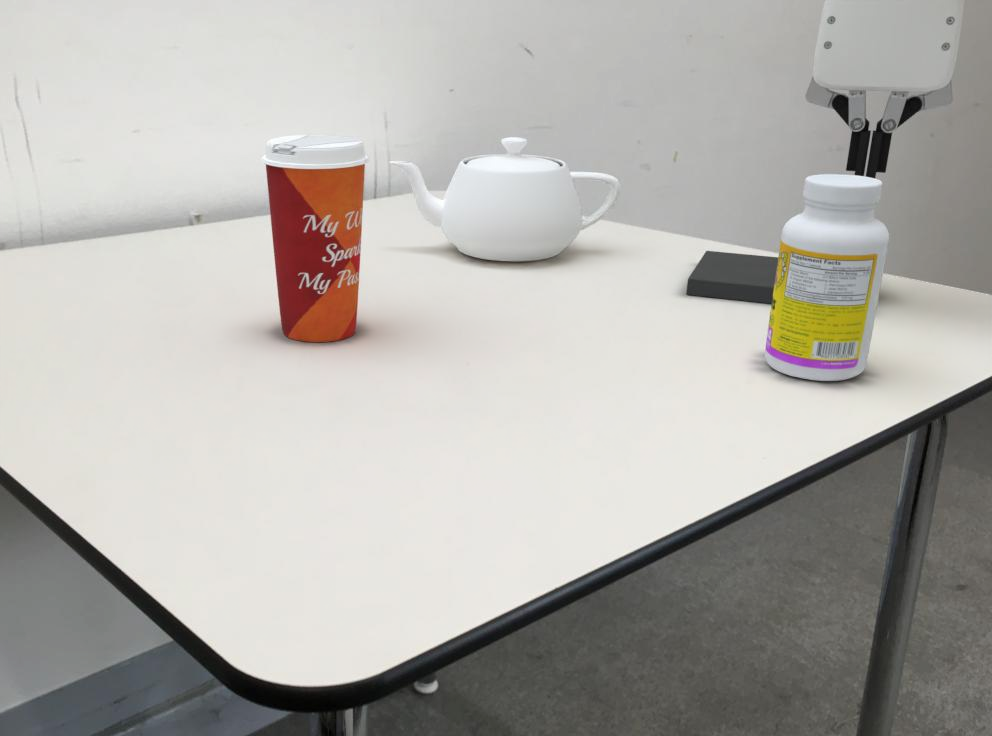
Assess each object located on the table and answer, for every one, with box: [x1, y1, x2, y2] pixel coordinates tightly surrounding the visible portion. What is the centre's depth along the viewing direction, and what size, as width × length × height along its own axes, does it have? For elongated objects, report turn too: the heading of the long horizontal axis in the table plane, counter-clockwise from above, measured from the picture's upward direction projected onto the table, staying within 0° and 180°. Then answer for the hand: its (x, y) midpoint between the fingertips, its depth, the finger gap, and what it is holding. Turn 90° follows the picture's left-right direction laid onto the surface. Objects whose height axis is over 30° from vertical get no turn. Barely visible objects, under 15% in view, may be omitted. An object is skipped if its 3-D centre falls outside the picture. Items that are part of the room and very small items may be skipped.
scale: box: [685, 250, 778, 305], centre depth 94 cm, size 15×11×3 cm
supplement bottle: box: [764, 173, 890, 382], centre depth 73 cm, size 7×7×13 cm
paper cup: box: [260, 134, 370, 343], centre depth 80 cm, size 8×8×14 cm
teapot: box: [388, 136, 621, 262], centre depth 104 cm, size 22×14×11 cm, turn 88°
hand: (864, 180), depth 89 cm, fingers closed
